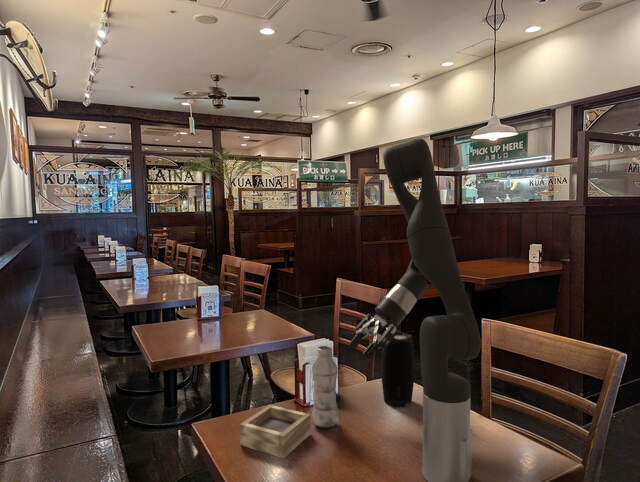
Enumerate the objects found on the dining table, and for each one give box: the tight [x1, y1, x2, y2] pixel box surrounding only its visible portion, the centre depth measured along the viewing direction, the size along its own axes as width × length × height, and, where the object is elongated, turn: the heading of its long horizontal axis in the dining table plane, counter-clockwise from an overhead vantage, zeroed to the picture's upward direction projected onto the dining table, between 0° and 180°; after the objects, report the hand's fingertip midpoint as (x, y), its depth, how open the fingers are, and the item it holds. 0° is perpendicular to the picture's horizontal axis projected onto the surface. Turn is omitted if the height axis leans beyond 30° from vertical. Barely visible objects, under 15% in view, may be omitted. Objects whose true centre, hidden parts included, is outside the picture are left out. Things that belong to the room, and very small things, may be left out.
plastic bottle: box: [311, 345, 339, 429], centre depth 111 cm, size 6×7×20 cm
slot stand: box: [239, 404, 311, 459], centre depth 104 cm, size 12×12×5 cm
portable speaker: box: [381, 330, 415, 408], centre depth 124 cm, size 9×9×20 cm
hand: (358, 351), depth 114 cm, fingers open, 8 cm apart
